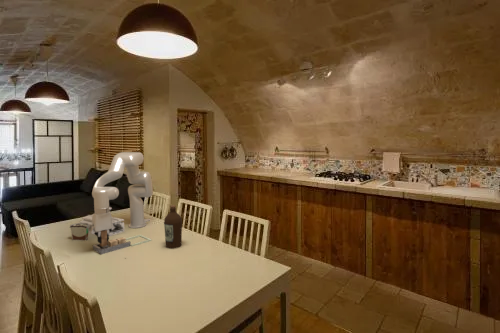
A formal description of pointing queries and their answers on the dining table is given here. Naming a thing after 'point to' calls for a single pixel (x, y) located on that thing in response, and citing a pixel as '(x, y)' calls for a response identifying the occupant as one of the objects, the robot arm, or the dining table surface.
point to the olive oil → (173, 228)
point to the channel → (111, 248)
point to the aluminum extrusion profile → (116, 221)
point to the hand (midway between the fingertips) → (103, 241)
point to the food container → (79, 231)
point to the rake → (103, 240)
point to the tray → (139, 242)
